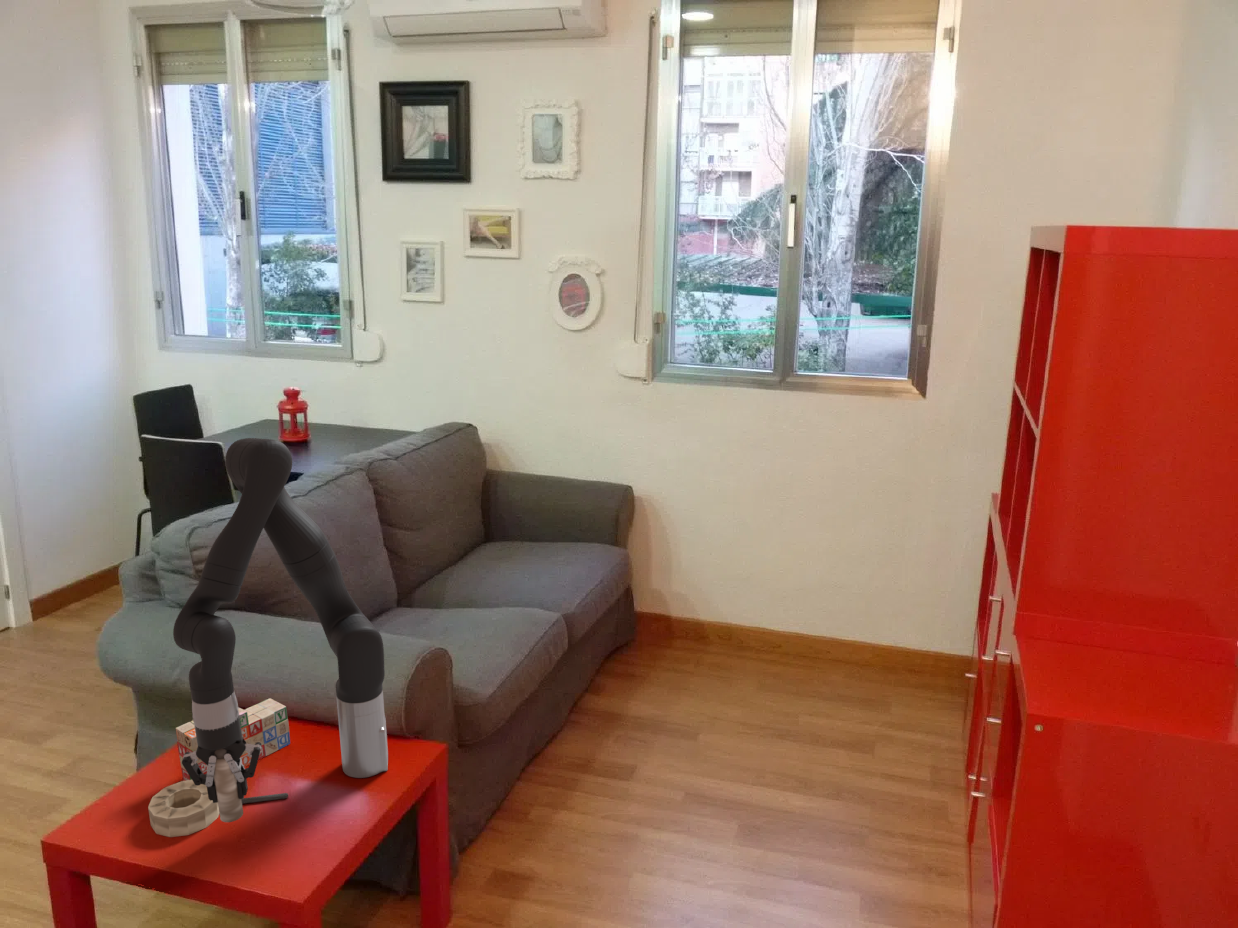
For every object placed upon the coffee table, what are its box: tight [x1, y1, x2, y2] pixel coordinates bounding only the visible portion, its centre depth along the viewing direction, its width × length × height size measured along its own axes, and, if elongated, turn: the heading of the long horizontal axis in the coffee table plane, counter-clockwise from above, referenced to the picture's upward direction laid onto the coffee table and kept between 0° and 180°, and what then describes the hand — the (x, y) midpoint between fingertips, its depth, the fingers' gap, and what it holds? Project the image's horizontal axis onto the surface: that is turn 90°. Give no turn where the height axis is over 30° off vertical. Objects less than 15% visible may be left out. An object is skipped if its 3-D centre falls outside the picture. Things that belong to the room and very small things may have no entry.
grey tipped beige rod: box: [214, 749, 244, 823], centre depth 172 cm, size 4×4×15 cm
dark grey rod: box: [241, 792, 289, 805], centre depth 185 cm, size 9×1×1 cm, turn 103°
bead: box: [147, 780, 220, 838], centre depth 180 cm, size 12×12×4 cm
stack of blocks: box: [175, 697, 291, 781], centre depth 196 cm, size 21×6×12 cm, turn 143°
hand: (228, 797), depth 173 cm, fingers closed on grey tipped beige rod, 4 cm apart
